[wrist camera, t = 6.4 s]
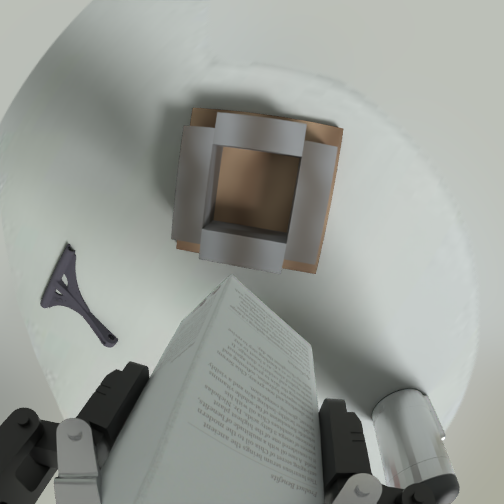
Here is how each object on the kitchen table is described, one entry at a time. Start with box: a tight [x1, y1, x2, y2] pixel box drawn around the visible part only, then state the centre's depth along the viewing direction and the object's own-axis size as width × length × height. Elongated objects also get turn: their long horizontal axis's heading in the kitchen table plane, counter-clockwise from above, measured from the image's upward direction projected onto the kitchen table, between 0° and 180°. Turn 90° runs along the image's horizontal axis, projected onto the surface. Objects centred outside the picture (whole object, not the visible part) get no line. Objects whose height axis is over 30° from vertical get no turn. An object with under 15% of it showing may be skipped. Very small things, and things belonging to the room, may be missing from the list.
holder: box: [171, 108, 343, 274], centre depth 29 cm, size 16×16×6 cm
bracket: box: [40, 244, 118, 347], centre depth 39 cm, size 14×15×3 cm
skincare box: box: [100, 275, 325, 504], centre depth 10 cm, size 6×4×12 cm
